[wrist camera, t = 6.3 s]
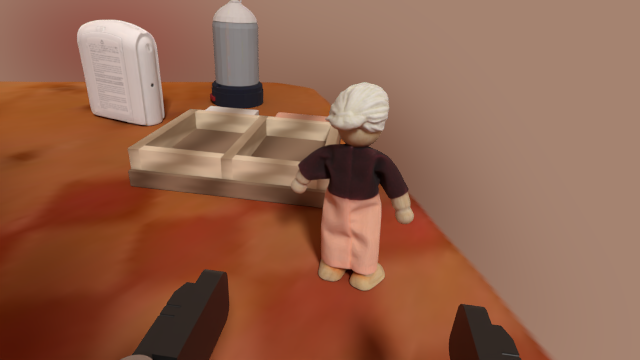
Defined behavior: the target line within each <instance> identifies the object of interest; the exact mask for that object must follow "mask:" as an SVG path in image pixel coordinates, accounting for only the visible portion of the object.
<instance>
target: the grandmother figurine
mask: <svg viewBox="0 0 640 360" xmlns="http://www.w3.org/2000/svg"><path fill="white" fill-rule="evenodd" d="M388 100H389V99H388V97H387V94H386V92H385V91H383V89H382V88H380V87H379V86H377V85H373V84H369V83H366V82H363V83H360V84H356V85H352V86H350V87H349V88H347V89H346V90H345V91H343V92H341V93H340V95H339V96H338V98H337V99H336V101H335V102H334V103H333V104H332V106H331V109H330V112H329V114H330V115H329V116H328V117H327V118H325V120H328V121H329V122H330V125H331V126H332V127H333V128H335V129H337V130H338V133H339V135H340V137H341V139H342V140H343V141H344V142H345V143H346V144H331V145H326V146H323V147H320V148H318V149H317V150H315V151H314V152H312V153H311V154H309V155H308V156H307V157H306V158H305V159H303V160H302V161H301V162H300V163H299V164H298V167H299V170H298V172H297V174H296V178H295V179H294V180H293V181H292V183H291V188H292V190H293V191H294V192H295V193H300V194H301V193H303V192H305V190H306V189H307V184H309V183H310V182H311V181H312V180H318V179H329V184H328V187H327V189H326V192H325V197H324V204H323V213H322V221H321V257H322V259H321V261H320V266H319V270H318V275H319V276H320V277H321V278H322V279H324V280H328V281H337V280H339V279H340V278H341V277H342V276H343V274H344V273H345V271H346V270H347V269H352V270H353V271H354V272H353V273H352V275H351V277H350V279H349V282H350V284H351V285H352V286H353V287H355V288H357V289H359V290H363V291H364V290H370V289H371V288H373V287H374V286H375V285H377V284H378V283H379V282H381V281H382V280H383V279H384V277H385V273H384V270H383V268H382V266H381V265H380V264H379V263H378V254H379V237H380V225H381V201H380V196H379V188H378V185H379V183H380V184H381V186H382V187H383V189H384V190H385V192H386V194H387V195H388V197H389V198H390V199H391V202H392V206H393V208H394V209H395V210H396V212H395V216H396V219H397V221H398V222H399V223H401V224H408V223H410V222H411V221H412V220H413V217H414V215H413V212H412V210H411V209H410V199H409V196H408V187H407V185H406V183H405V182H404V180H403V178H402V175H401V174H400V172H399V170H398V168H397V167H396V165H395V164H394V163H393V161H392V160H391V159H390V158H389V157H388V156H387V155H385V154H383V153H382V152H380V151H378V150H375V149H373V148H371V147H369V145H371V144H373V143H374V142H375V141H376V140H377V139H378V138H379V136H380V134H381V132H382V130H383V129H384V125H385V121H386V119H387V118H388V111H389V104H388Z"/></svg>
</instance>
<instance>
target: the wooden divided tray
mask: <svg viewBox="0 0 640 360" xmlns="http://www.w3.org/2000/svg"><path fill="white" fill-rule="evenodd" d="M325 118H327V117H324V116H313V115H302V114H292V113H281V112H278V114H277V115H276V116H275V117H269V116H259V110H249V109H238V108H227V107H216V106H210V107H209V108H207V109H206V110H195V109H190V110H188V111H187V112H185V113H183V114H182V115H180V116H179V117H177V118H175V119H174V120H172V121H171V122H169V123H167V124H166V125H164V126H163V127H161V128H159V129H158V130H156V131H155V132H153V133H151V134H150V135H148V136H147V137H145V138H143V139H142V140H140V141H139V142H137V143H135V144H134V145H132V146H131V147H129V148H128V153H129V158H130V164H131V169H130V170H129V171H128V173H129V178H130V184H131V186H136V187H145V188H154V189H163V190H171V191H180V192H189V193H198V194H206V195H215V196H224V197H233V198H242V199H250V200H259V201H268V202H277V203H285V204H294V205H303V206H312V207H321V208H323V204H324V197H325V192H326V189H327V187H328V184H329V179H318V180H312V181H311V182H310V183H309V184H307V189H306V190H305V192H303V193H301V194H300V193H295V192H294V191H293V190H292V188H291V183H292V181H293V180H294V179H295V178H296V174H297V172H298V170H299V167H298V164H299V163H300V162H301V161H302V160H303V159H305V158H306V157H307V156H308V155H309V154H311V153H312V152H314V151H315V150H317V149H318V148H320V147H323V146H326V145H331V144H340V140H341V137H340V135H339V133H338V130H337V129H335V128H333V127H332V126H331V125H330V122H327V120H325Z"/></svg>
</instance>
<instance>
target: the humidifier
mask: <svg viewBox="0 0 640 360" xmlns="http://www.w3.org/2000/svg"><path fill="white" fill-rule="evenodd" d="M213 41H214V58H215V74H216V81H214V82H213V83H212V86H213V87H212V94H210V99H211V100H212V101H213V103H214V104H215V105H217V106H220V107H227V108H252V107H256V106H259V105H261V104H262V103H263V88H262V84H261V83H260V82H259V67H258V26H257V20H256V18H255V16H254V15H253V13H252V12H251V11H250V10H249V9H248V8H246V7H245V6H243V5H242V4H241V1H240V2H239V0H230V1H229V3H227V4H226V5H224V6H223V7H221V8H220V9H219V10H218V11H217V12H216V14H215V15H214V17H213Z"/></svg>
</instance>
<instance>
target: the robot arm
mask: <svg viewBox="0 0 640 360" xmlns="http://www.w3.org/2000/svg"><path fill="white" fill-rule="evenodd" d="M228 312H229V293H228V278H227V273H226V272H221V271H214V270H204V271H203V272H202V273H201V275H200V276H199V278H198V280H197V281H196V283H189V282H187V283H186V284H184V285H183V286H182V287H180V288H179V289H178V290H176V291H175V292H174V293H173V295H172V296H171V298H170V299H169V301H168V302H167V305H166V306H165V307H164V308H163V310H162V311H161V313H160V316H158V317H157V319H156V320H155V322H154V323H153V325H152V326H151V328H150V329H149V331H148V332H147V334H146V335H145V337H144V338H143V340H142V341H141V343H140V344H139V346H138V347H137V349H136V350H135V352H134V353H133V354H132V355H131V356H128V357H125V358H123V359H121V360H209V358H210V356H211V354H212V352H213V349H214V347H215V345H216V343H217V341H218V338H219V336H220V334H221V332H222V330H223V327H224V325H225V323H226V320H227V317H228ZM449 355H450V360H521V358H519V353H518V351H517V348H516V346H515V343H514V341H513V339H512V338H511V337H510V336H509V334H508V333H507V332H506V331H505V330H504V329H503V327H502V326H499V325H492V324H491V321H490V319H489V316H488V313H487V310H486V309H485V307H480V306H473V305H465V304H460V305H459V307H458V310H457V314H456V317H455V321H454V324H453V327H452V331H451V334H450V339H449Z"/></svg>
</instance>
